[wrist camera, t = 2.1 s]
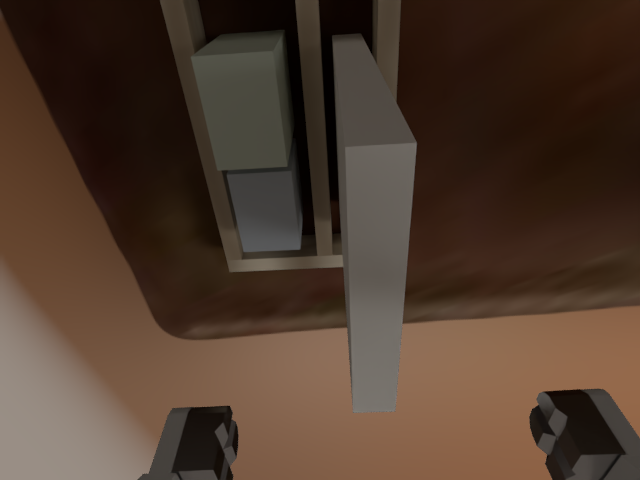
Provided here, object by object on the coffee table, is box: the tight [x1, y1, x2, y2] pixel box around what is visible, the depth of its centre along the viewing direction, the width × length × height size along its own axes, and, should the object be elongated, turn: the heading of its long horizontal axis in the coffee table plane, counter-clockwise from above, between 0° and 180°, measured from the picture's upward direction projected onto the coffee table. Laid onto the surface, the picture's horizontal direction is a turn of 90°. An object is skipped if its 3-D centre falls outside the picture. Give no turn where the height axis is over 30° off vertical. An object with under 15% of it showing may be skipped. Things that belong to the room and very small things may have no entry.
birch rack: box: [160, 0, 401, 272], centre depth 27 cm, size 13×20×3 cm, turn 4°
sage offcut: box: [191, 30, 295, 171], centre depth 23 cm, size 4×6×7 cm, turn 4°
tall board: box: [332, 33, 417, 413], centre depth 21 cm, size 2×12×18 cm, turn 4°
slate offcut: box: [227, 138, 304, 252], centre depth 28 cm, size 4×6×6 cm, turn 4°
